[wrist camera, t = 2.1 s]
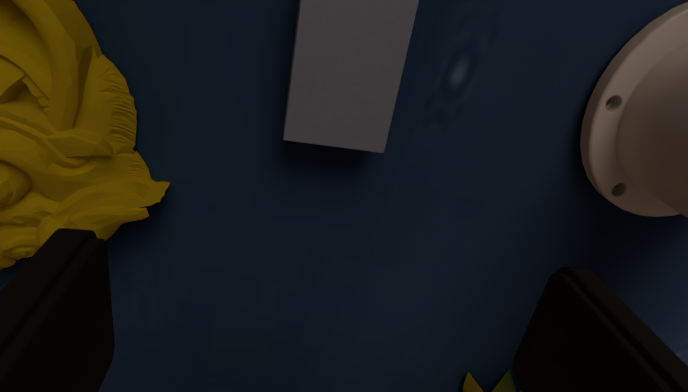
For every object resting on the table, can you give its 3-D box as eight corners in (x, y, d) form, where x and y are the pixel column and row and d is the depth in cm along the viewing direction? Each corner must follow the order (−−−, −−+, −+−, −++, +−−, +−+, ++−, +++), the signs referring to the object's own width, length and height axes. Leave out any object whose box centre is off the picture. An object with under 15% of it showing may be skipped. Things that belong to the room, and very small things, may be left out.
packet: (410, -24, 21) (424, -23, 19) (375, 137, 24) (383, 153, 22) (304, -45, 20) (306, -47, 18) (283, 125, 24) (283, 140, 21)
